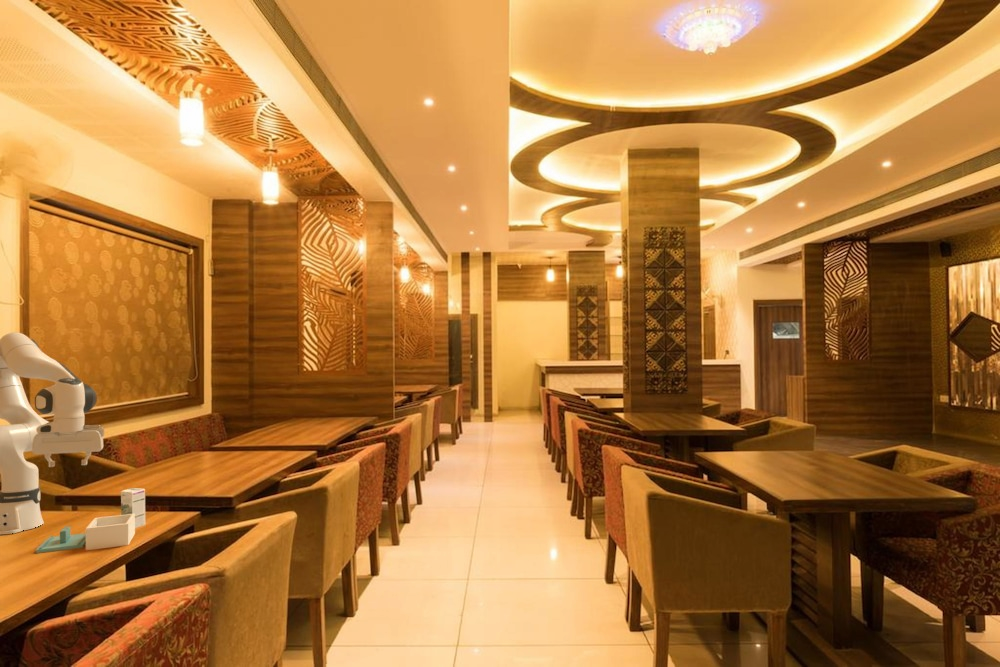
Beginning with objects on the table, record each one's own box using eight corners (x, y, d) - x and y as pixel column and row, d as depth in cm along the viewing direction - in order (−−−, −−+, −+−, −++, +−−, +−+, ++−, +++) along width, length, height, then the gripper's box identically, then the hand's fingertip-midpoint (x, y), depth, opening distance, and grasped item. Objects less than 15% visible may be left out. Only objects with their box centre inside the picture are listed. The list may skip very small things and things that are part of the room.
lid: (35, 557, 197) (35, 537, 197) (48, 544, 211) (48, 525, 211) (82, 551, 202) (82, 532, 202) (92, 539, 216) (92, 521, 216)
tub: (85, 553, 199) (85, 528, 200) (95, 541, 212) (95, 517, 213) (128, 547, 204) (128, 523, 204) (135, 536, 217) (134, 513, 217)
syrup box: (146, 527, 228) (146, 488, 229) (132, 531, 223) (131, 491, 223) (134, 526, 230) (134, 487, 230) (120, 530, 224) (120, 490, 225)
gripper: (106, 423, 219) (105, 462, 219) (36, 425, 211) (35, 465, 211) (102, 425, 213) (101, 465, 213) (30, 428, 205) (29, 469, 205)
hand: (68, 465), depth 212 cm, fingers open, 8 cm apart
